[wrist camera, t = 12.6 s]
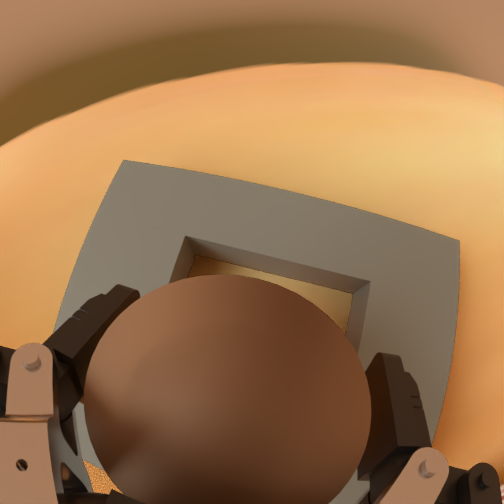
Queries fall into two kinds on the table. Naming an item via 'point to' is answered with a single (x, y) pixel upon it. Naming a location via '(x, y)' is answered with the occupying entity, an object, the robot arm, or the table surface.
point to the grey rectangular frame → (279, 265)
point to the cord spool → (227, 397)
